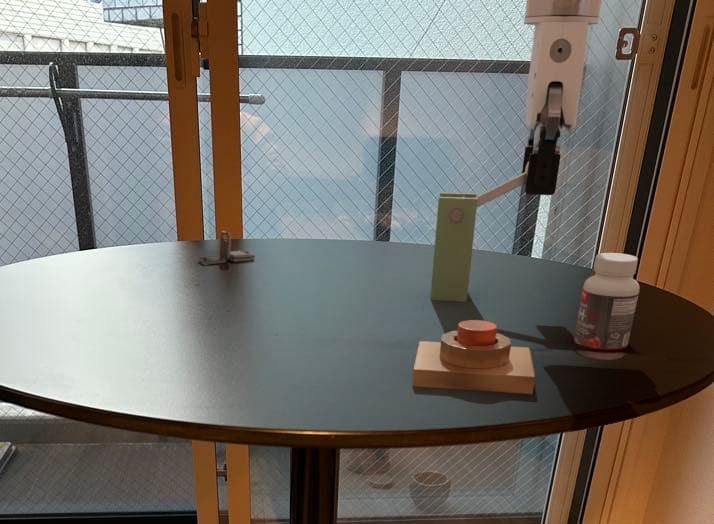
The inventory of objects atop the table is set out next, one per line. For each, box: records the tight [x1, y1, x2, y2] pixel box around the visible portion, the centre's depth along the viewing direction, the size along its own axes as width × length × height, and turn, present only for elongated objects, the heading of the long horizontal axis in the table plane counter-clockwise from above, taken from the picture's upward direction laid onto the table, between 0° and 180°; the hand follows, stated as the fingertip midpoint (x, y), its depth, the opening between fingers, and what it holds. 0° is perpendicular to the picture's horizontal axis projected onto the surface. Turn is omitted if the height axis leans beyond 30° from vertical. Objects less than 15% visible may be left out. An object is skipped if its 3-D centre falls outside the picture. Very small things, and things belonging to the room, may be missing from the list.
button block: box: [411, 329, 536, 395], centre depth 77 cm, size 11×9×4 cm
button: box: [456, 319, 498, 346], centre depth 76 cm, size 4×4×2 cm
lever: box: [462, 162, 529, 208], centre depth 93 cm, size 13×3×3 cm, turn 80°
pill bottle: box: [573, 252, 641, 361], centre depth 82 cm, size 5×5×10 cm
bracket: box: [429, 191, 478, 303], centre depth 97 cm, size 12×9×13 cm
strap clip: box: [197, 230, 256, 265], centre depth 121 cm, size 8×3×4 cm, turn 118°
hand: (536, 188), depth 92 cm, fingers open, 8 cm apart
